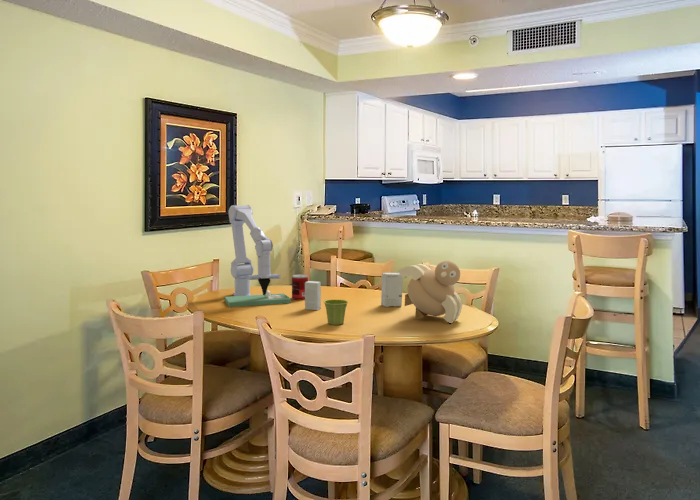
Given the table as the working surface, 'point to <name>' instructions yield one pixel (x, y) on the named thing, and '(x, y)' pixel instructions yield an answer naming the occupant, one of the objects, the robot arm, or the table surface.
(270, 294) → the ball
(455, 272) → the chick figurine
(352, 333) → the table surface
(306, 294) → the skincare box
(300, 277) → the canned food
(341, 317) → the plant pot
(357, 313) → the table surface
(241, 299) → the green
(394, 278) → the skincare box
